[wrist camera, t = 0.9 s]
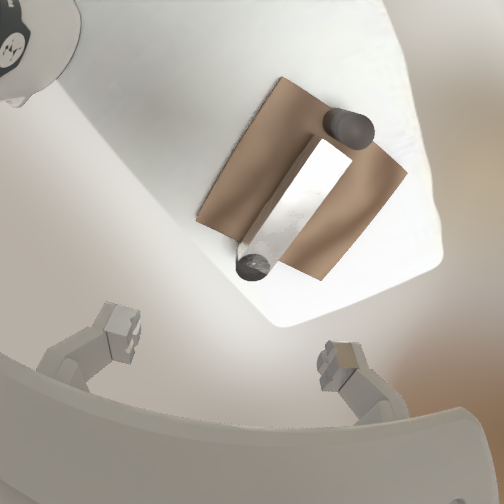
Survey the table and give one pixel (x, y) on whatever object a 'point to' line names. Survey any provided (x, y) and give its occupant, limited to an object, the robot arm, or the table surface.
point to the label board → (280, 162)
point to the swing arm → (290, 208)
